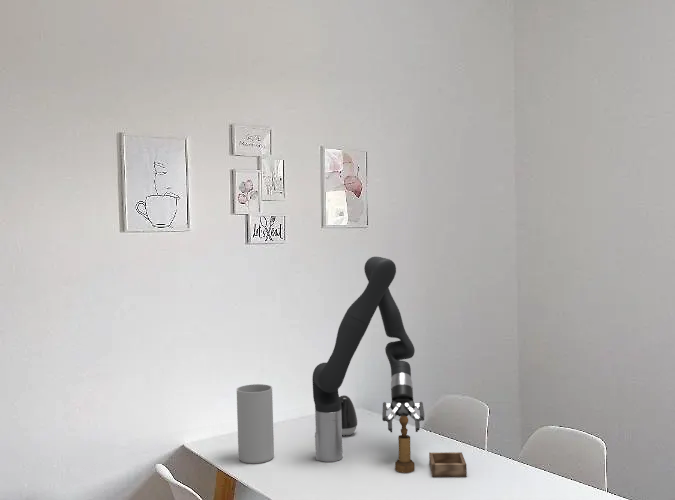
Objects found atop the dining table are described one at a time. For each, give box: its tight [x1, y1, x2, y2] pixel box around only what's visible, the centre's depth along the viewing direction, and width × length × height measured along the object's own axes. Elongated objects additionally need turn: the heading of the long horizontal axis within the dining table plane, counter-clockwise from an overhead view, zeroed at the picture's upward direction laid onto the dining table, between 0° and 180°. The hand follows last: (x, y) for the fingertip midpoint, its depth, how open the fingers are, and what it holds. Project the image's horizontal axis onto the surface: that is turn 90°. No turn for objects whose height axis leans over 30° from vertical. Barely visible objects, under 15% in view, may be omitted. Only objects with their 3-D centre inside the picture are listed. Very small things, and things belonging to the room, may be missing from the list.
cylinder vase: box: [236, 383, 275, 465], centre depth 243 cm, size 12×12×25 cm
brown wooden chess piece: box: [394, 416, 416, 474], centre depth 228 cm, size 7×6×18 cm
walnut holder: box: [428, 451, 468, 478], centre depth 227 cm, size 11×12×4 cm
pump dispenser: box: [339, 394, 358, 437], centre depth 270 cm, size 10×10×15 cm
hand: (404, 431), depth 230 cm, fingers open, 8 cm apart
